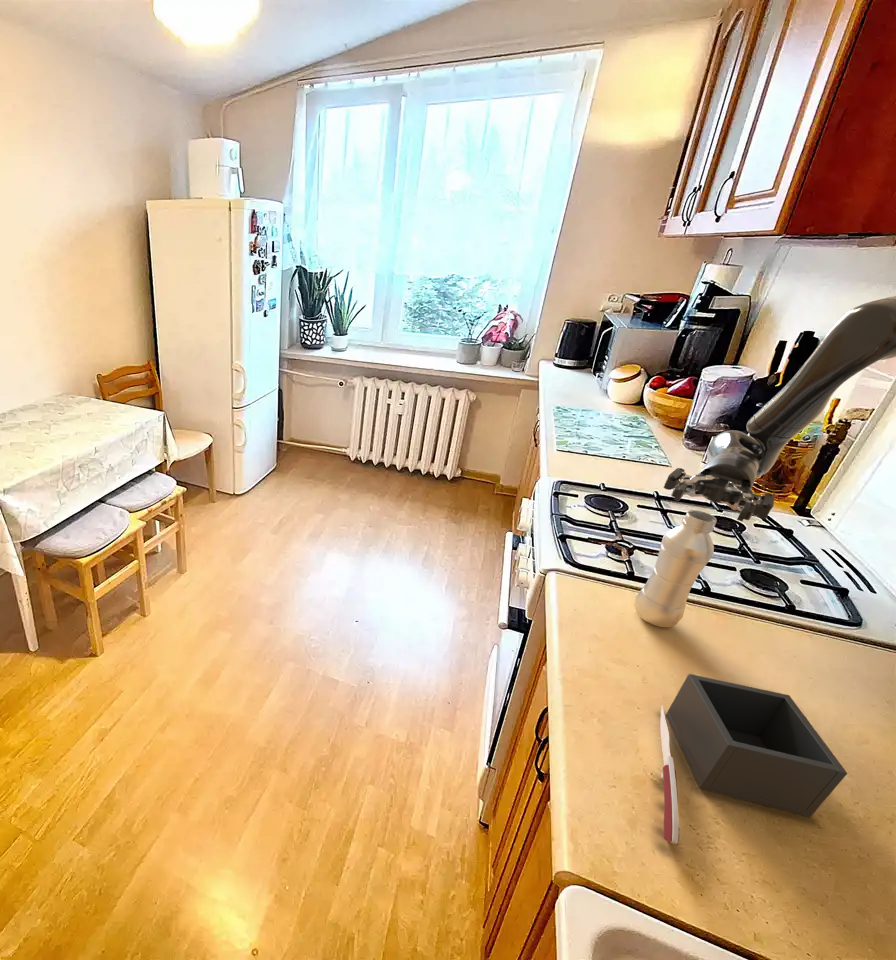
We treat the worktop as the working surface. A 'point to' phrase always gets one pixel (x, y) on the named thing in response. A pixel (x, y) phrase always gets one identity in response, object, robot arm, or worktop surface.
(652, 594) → the plastic bottle
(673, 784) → the knife
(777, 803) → the bin
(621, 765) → the worktop surface
